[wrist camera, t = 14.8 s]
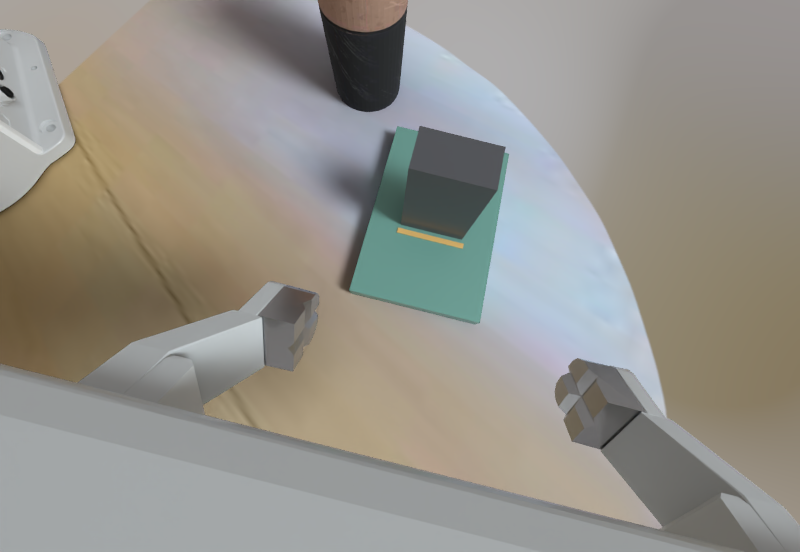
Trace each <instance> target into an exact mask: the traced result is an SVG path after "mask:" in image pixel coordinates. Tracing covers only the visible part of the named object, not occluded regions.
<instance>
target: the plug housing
mask: <svg viewBox="0 0 800 552" xmlns="http://www.w3.org/2000/svg"><path fill="white" fill-rule="evenodd" d="M504 152H505V147H503V146H499V145H495V144H491V143H487V142H483V141H479V140H475V139H471V138H467V137H462V136H458V135H454V134H450V133H446V132H442V131H438V130H434V129H430V128H426V127H422V126H420V127H419V131H418V135H417V139H416V142H415V146H414V150H413V153H412V157H411V161H410V165H409V168H408V175H407V183H406V190H405V197H404V204H403V212H402V219H401V225H404V226H408V227H412V228H416V229H420V230H424V231H428V232H432V233H436V234H440V235H444V236H448V237H452V238H456V239H460V240H462V239H463V237H464V236H465V235H466V233H467V232H468V231H469V229H470V228H471V226H472V225H473V224H474V222H475V221H476V220H477V218H478V217H479V215H480V214H481V213H482V211H483V210H484V209H485V207H486V206H487V204H488V203H489V202H490V200H491V199H492V198H493V196H494V195H495V193H496V192H497V191H498V186H499V180H500V174H501V169H502V163H503V157H504Z"/></svg>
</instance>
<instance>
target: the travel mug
mask: <svg viewBox="0 0 800 552" xmlns="http://www.w3.org/2000/svg"><path fill="white" fill-rule="evenodd" d="M318 3H319V9H320V13H321V18H322V22H323V27H324V32H325V36H326V41H327V45H328V50H329V55H330V59H331V64H332V68H333V73H334V78H335V82H336V86H337V90H338V93H339V95H340V97H341V98H342V100H343V101H344V102H345V103H346V104H347V105H349V106H350V107H352V108H354V109H357V110H360V111H366V112H372V111H378V110H381V109H384V108H386V107H387V106H389V105H390V104H391V103H392V102H393V101H394V100H395V99H396V97H397V95H398V91H399V85H400V76H401V66H402V56H403V45H404V35H405V25H406V14H407V3H408V0H318Z"/></svg>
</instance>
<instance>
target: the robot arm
mask: <svg viewBox="0 0 800 552" xmlns="http://www.w3.org/2000/svg"><path fill="white" fill-rule="evenodd" d="M74 144H75V136H74V133H73V130H72V127H71V123H70V120H69V117H68V114H67V111H66V108H65V105H64V102H63V98H62V95H61V92H60V89H59V86H58V83H57V80H56V77H55V74H54V71H53V67H52V64H51V61H50V58H49V55H48V52H47V49H46V46H45V44H44V43H43V42H42V41H40V40H39V39H38V38H37V37H35V36H34V35H32V34H29V33H25V32H22V31H15V30H7V29H0V212H1V211H2V210H4V209H6V208H7V207H9V206H10V205H12V204H13V203H15V202H16V201H17V200H19V199H20V198H21V197H22V196H23V195H24V194H26V193H27V192H28V191H29V190H30V189H31V187H32V186H33V185H34V184H35V183H36V182H37V180H38V179H39V177H40V176H41V175H42V173H43V172H44V171H45V169H46V168H47V167H48V166H49V165H50V164H51V163H53V162H54V161H55V160H57V159H58V158H60V157H61V156H63V155H64V154H65V153H67V152H68V151H69V150H70V149H71V148H72V147H73V145H74ZM318 305H319V295H318V293H315V292H311V291H308V290H304V289H300V288H297V287H293V286H289V285H285V284H281V283H277V282H274V281H270V282H267V283H266V284H265V285H264V286H263V287H262V288H261V289H260V290H259V291H258V292H257V293H256V294H255V295H254V296H253V297H252V298H251V299H250V300H249V301H248V302H247V303H246V304H245V305H244V306H243V307H242V308H240V309H239V310H238V311H236V310H231V311H228V312H225V313H222V314H218V315H215V316H212V317H209V318H206V319H203V320H200V321H197V322H194V323H191V324H187V325H184V326H181V327H178V328H175V329H172V330H169V331H166V332H163V333H160V334H157V335H153V336H150V337H147V338H144V339H141V340H138V341H135V342H132V343H130V344H129V345H128V346H126V347H125V348H124V349H122V350H121V351H120V352H118V353H117V354H115V355H114V356H113V357H111V358H110V359H109V360H107V361H106V362H105V363H103V364H102V365H101V366H99V367H98V368H97V369H95V370H94V371H93V372H91V373H90V374H89V375H87V376H86V377H85V378H83V379H82V380H80V381H79V382H78V383H76V382H72V381H68V380H64V379H60V378H56V377H52V376H48V375H44V374H40V373H36V372H32V371H28V370H24V369H20V368H16V367H12V366H8V365H4V364H0V552H800V525H799V524H798V523H797V522H796V521H795V519H794V518H793V517H792V516H791V515H790V514H789V512H788V511H787V510H786V509H785V508H784V507H783V506H782V505H781V504H779V503H778V502H777V501H775V500H774V499H773V498H772V497H770V496H769V495H768V494H766V493H765V492H764V491H763V490H761V489H760V488H759V487H757V486H756V485H755V484H753V483H752V482H751V481H750V480H748V479H747V478H746V477H745V476H743V475H742V474H741V473H739V472H738V471H737V470H736V469H734V468H733V467H732V466H730V465H729V464H728V463H727V462H725V461H724V460H723V459H721V458H720V457H719V456H718V455H716V454H715V453H714V452H712V451H711V450H710V449H708V448H707V447H706V446H705V445H703V444H702V443H701V442H700V441H698V440H697V439H696V438H694V437H693V436H692V435H691V434H689V433H688V432H687V431H686V430H684V429H683V428H682V427H680V426H679V425H678V424H676V423H675V422H674V421H673V420H671V419H668V418H665V416H664V415H663V413H662V412H661V411H660V409H659V408H658V407H657V405H656V404H655V402H654V401H653V400H652V398H651V397H650V396H649V394H648V393H647V392H646V390H645V389H644V387H643V386H642V385H641V383H640V382H639V381H638V379H637V378H636V376H635V375H634V374H633V373H632V372H630V371H629V370H627V369H623V368H618V367H614V366H607V365H603V364H599V363H595V362H591V361H587V360H583V359H579V358H577V359H575V360H574V361H572V362H571V364H570V365H569V366H568V367H569V372H570V373H567V374H565V375H563V376H561V377H560V379H559V380H558V382H557V383H556V388H555V398H556V402H557V404H558V407H559V408H560V409H561V410H562V411H563V412H564V413H565V414H566V415H565V418H564V422H565V425H566V427H567V430H568V433H569V435H570V438H571V440H572V442H576V443H579V444H583V445H587V446H590V447H594V448H597V449H601V452H602V453H603V455H604V456H605V457H606V458H607V459H608V461H609V462H610V463H611V464H612V465H613V467H614V468H615V469H616V470H617V472H618V473H619V474H620V475H621V476H622V478H623V479H624V480H625V481H626V482H627V484H628V485H629V486H630V487H631V489H632V490H633V491H634V492H635V493H636V495H637V496H638V497H639V498H640V500H641V501H642V502H643V503H644V504H645V506H646V507H647V508H648V509H649V510H650V512H651V513H652V514H653V515H654V517H655V518H656V519H657V520H658V521H659V523H660V524H661V525H662V526H663V527H662V528H661V529H659V530H658V529H654V528H650V527H646V526H643V525H639V524H635V523H631V522H627V521H623V520H619V519H615V518H611V517H607V516H603V515H599V514H595V513H591V512H587V511H583V510H579V509H575V508H571V507H567V506H563V505H559V504H555V503H551V502H547V501H543V500H539V499H535V498H531V497H527V496H523V495H519V494H515V493H511V492H507V491H503V490H499V489H495V488H491V487H487V486H483V485H479V484H475V483H472V482H468V481H464V480H460V479H456V478H452V477H448V476H444V475H440V474H436V473H432V472H428V471H424V470H420V469H416V468H412V467H408V466H404V465H400V464H396V463H392V462H388V461H385V460H381V459H377V458H373V457H369V456H365V455H361V454H357V453H353V452H349V451H345V450H341V449H337V448H333V447H329V446H325V445H321V444H317V443H313V442H309V441H305V440H301V439H297V438H293V437H289V436H285V435H282V434H278V433H274V432H270V431H266V430H262V429H258V428H254V427H250V426H246V425H242V424H238V423H234V422H230V421H226V420H222V419H218V418H214V417H210V416H206V415H205V412H204V408H203V405H204V404H205V403H207V402H209V401H210V400H212V399H213V398H215V397H217V396H218V395H220V394H221V393H223V392H225V391H226V390H228V389H229V388H231V387H233V386H234V385H236V384H238V383H239V382H241V381H242V380H244V379H246V378H247V377H249V376H250V375H252V374H254V373H255V372H257V371H258V370H260V369H262V368H263V367H264V365H266V366H271V367H275V368H280V369H284V370H289V371H294V369H295V368H296V366H297V364H298V362H299V361H300V359H301V357H302V356H303V347H304V346H306V345H308V344H309V343H310V341H311V340H312V338H313V335H314V333H315V330H316V326H317V321H318V315H317V313H316V312H315V310H316V308H317V307H318Z"/></svg>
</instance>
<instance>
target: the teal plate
mask: <svg viewBox="0 0 800 552" xmlns="http://www.w3.org/2000/svg"><path fill="white" fill-rule="evenodd" d="M417 135H418V131H415V130H410V129H406V128H402V127H398V126H397V129H396V133H395V136H394V139H393V143H392V146H391V150H390V153H389V156H388V160H387V163H386V167H385V170H384V174H383V177H382V180H381V184H380V187H379V191H378V194H377V197H376V201H375V204H374V208H373V211H372V214H371V218H370V221H369V225H368V228H367V231H366V235H365V238H364V242H363V245H362V249H361V252H360V255H359V259H358V262H357V266H356V269H355V272H354V276H353V279H352V283H351V286H350V289H349V291H350V292H351V293H352V294H356V295H360V296H364V297H368V298H372V299H376V300H380V301H384V302H388V303H392V304H396V305H400V306H404V307H408V308H412V309H416V310H420V311H424V312H428V313H432V314H436V315H440V316H444V317H448V318H452V319H456V320H460V321H464V322H468V323H472V324H478V323H480V318H481V313H482V307H483V301H484V295H485V290H486V284H487V278H488V272H489V266H490V261H491V255H492V249H493V243H494V237H495V232H496V226H497V220H498V214H499V209H500V203H501V197H502V191H503V185H504V180H505V174H506V168H507V162H508V156H509V154H507V153H504V157H503V163H502V169H501V174H500V180H499V186H498V191H497V192H496V193H495V195H494V196H493V198H492V199H491V200H490V202H489V203H488V204H487V206H486V207H485V209H484V210H483V211H482V213H481V214H480V215H479V217H478V218H477V220H476V221H475V222H474V224H473V225H472V226H471V228H470V229H469V231H468V232H467V233H466V235H465V236H464V237H463V239H462V240H460V239H456V238H452V237H448V236H444V235H440V234H436V233H432V232H428V231H424V230H420V229H416V228H412V227H408V226H404V225H401V219H402V212H403V204H404V197H405V190H406V183H407V175H408V168H409V165H410V161H411V157H412V153H413V150H414V146H415V142H416V139H417Z"/></svg>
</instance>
